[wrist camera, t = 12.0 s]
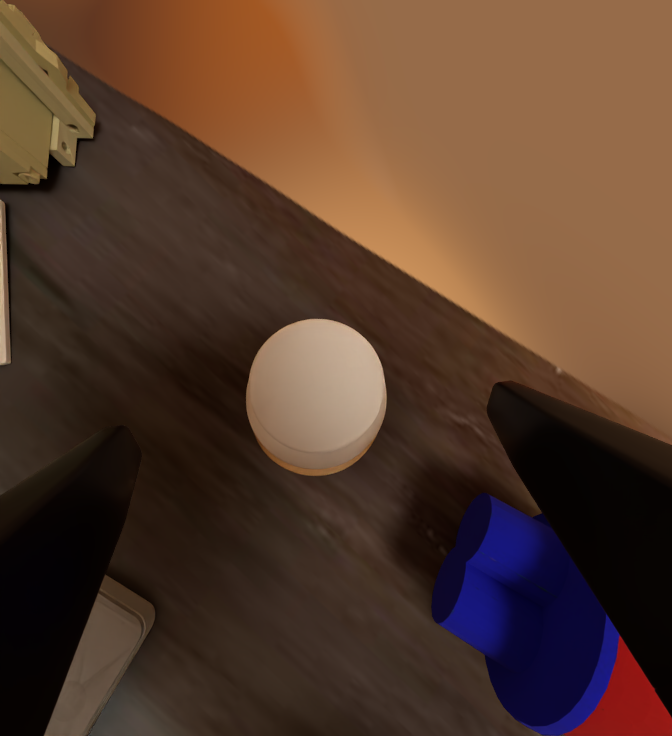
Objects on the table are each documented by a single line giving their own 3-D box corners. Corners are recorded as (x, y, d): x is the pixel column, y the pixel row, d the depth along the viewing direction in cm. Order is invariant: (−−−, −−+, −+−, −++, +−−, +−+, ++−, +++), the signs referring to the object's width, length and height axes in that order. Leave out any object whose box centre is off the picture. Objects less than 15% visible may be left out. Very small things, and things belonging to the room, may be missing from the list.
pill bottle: (328, 349, 19) (340, 265, 10) (379, 420, 18) (447, 405, 9) (254, 398, 18) (185, 359, 9) (304, 475, 17) (291, 525, 8)
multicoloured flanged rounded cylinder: (407, 592, 19) (676, 767, 16) (433, 745, 10) (1103, 1251, 6) (467, 460, 20) (730, 597, 17) (541, 485, 11) (1164, 802, 7)
